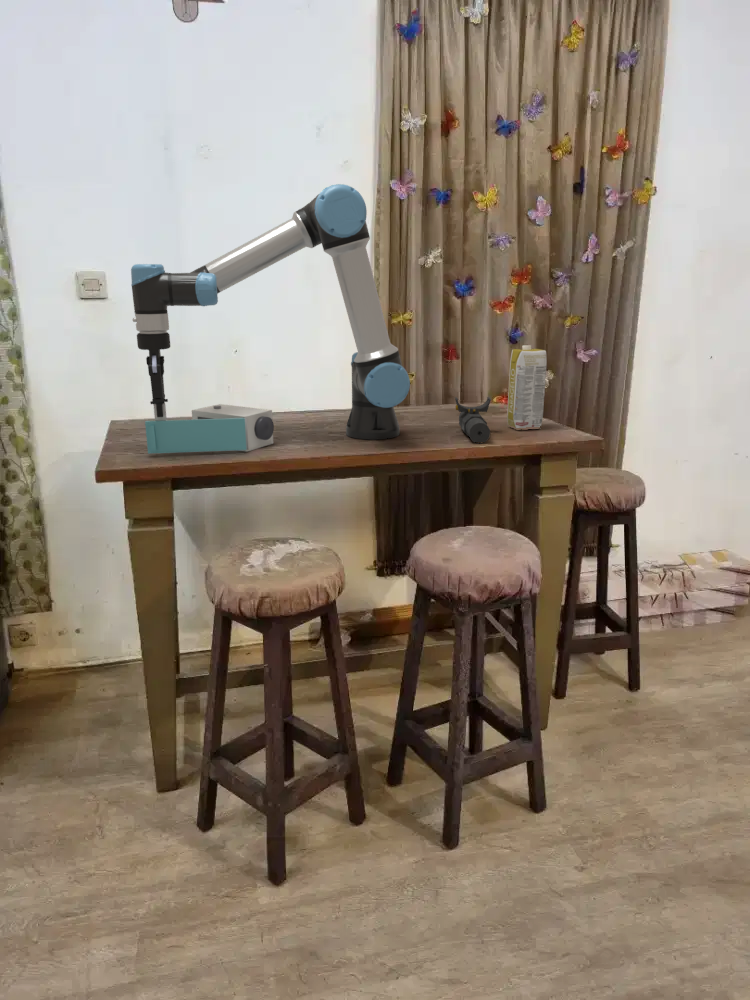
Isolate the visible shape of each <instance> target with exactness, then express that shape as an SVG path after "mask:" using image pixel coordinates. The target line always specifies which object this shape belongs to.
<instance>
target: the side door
mask: <svg viewBox="0 0 750 1000" xmlns="http://www.w3.org/2000/svg"><path fill="white" fill-rule="evenodd" d="M144 425H145V436H146V446H147V454H172V453H174V454H175V453H194V452H195V453H197V452H198V453H200V452H201V453H202V452H223V451H224V452H226V451H239V450H248V432H247V418H224V419H192V418H191V419H167V420H159V421H155V420H145V421H144Z"/></svg>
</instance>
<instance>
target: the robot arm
mask: <svg viewBox="0 0 750 1000" xmlns="http://www.w3.org/2000/svg"><path fill="white" fill-rule="evenodd" d="M367 211H368V210H367V206H366V201H365V198H363V196H362V195H361V193H360V192H359V191H358V190H356V188H354V187H353V186H350V185H348V184H344V183H343V184H341V183H337V184H332V185H331V184H330V185H329V186H327V187H324V188H323V190H322V191H320V192H319V193H318V194H317V195H316V196H314V198H313V199H311V201H309V202H308V203H307V204H306V205H304V206H303V207H300V208H299V209H298V210H296V211H294V212H293V213H292V216H291V218H290V219H288V220H286V221H285V222H282V223H280V224H278V225H277V226H274V227H273V228H271V229H269V230H268V231H266V232H264V233H261V234H259V235H258V236H257V237H254V238H252V239H250V240H249V241H247V242H245V243H243V244H241V245H239V246H238V247H236V248H234V249H232V250H230V251H227V252H226V253H225V254H223V255H221V256H218V257H216V258H215V259H213V260H211V261H209V262H207V263H206V264H204V265H202V266H200V267H198V268H196V269H194V270H193V271H190V272H172V273H171V272H166V270H165V267H164V265H163V264H162V263H161V264H160V263H159V264H158V263H155V264H154V263H153V264H152V263H149V264H148V263H143V264H142V263H137V264H136V263H135V264H133V265H132V267H131V268H130V275H131V291H132V300H133V309H134V310H133V311H134V317H132V322H133V323H136V324H135V329H136V331H137V332H138V333H137V334H136V341H137V343H136V344H137V349H139V350H143V351H148V355H147V356H146V357H145V360H146V365H147V369H148V371H147V372H148V376H149V379H150V386H151V394H152V397H151V398H152V400H151V401H150V402H149V403H150V405H153V415H154V421H159V420H168V419H167V408H166V406H167V405H166V403H168V402H169V400H168V398H166V394H165V385H164V384H165V383H164V381H165V380H164V374H165V364H164V363H165V356H164V355H161V350H168V349H170V348H171V338H170V333H169V332H168V331H169V330H170V325H169V322H170V321H169V313H168V307H169V306H170V307H177V306H178V307H181V306H182V307H184V306H185V307H208V306H210V307H211V306H216V305H217V304H218V302H219V300H218V299H219V297H218V294H219V293H222V292H223V291H225V290H227V289H229V288H231V287H234V285H237V284H238V283H240V282H242V281H243V280H246V279H247V278H250V277H252V276H254V275H255V274H257V273H260V272H261V271H263V270H264V269H267V268H269V267H271V266H273V265H274V264H277V263H278V262H280V261H281V260H283V259H285V258H287V257H289V256H292V255H293V254H295V253H297V252H299V251H301V250H302V249H305V248H310V249H313V248H315V247H316V246H320V245H321V246H322V249H323V252H324V253H325V254H328V255H329V256H330V257H331V259H332V262H333V265H334V269H335V273H336V277H337V281H338V283H339V287H340V292H341V295H342V299H343V303H344V306H345V309H346V314H347V316H348V320H349V321H348V322H349V325H350V328H351V331H352V335H353V340H354V342H355V347H356V350H357V352H354V353H353V354H352V356H351V362H350V366H351V410H350V413H349V415H348V418H347V422H346V426H345V435H346V436H347V437H349V438H354V439H358V440H386V439H387V438H388V439H392V438H397V437H398V436H399V435H400V424H399V421H398V417H397V415H396V411H395V410H396V409H395V408H394V407H396V406H398V405H399V404H401V403H402V402H403V401H404V400H405V399H406V397H407V395H408V394H409V392H410V387H411V381H410V380H411V379H410V376H409V374H408V371H407V370H406V368H405V367H404V366H403V363H402V359H401V354H400V351H399V348H398V347H397V346H395V345H394V344H392V343H391V340H390V336H389V333H388V332H389V331H388V328H387V324H386V321H385V316H384V313H383V308H382V305H381V304H382V303H381V301H380V300H381V299H380V297H379V294H378V290H377V286H376V282H375V277H374V275H373V269H372V266H371V262H370V258H369V254H368V251H367V250H368V249H367V245H368V243H369V241H370V239H371V236H370V233H369V229H368V225H367V215H368V214H367V213H368V212H367Z"/></svg>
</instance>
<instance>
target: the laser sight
mask: <svg viewBox="0 0 750 1000" xmlns="http://www.w3.org/2000/svg"><path fill="white" fill-rule="evenodd" d="M486 398H487V399H486V400H485V402H484V403H483V404H481V405H478V406H465V405H462V404H460V403H459V401H458V400H459V398H458V397H457V396H456V397H454V400H455V411H458V412H459V416H458V425H459V427H460V428H461V429H462V431H463V433H464V434H465V435H466V436H469V437H470V440H471V441H472V442H473V443H475V442H484V443H486V441H488V440H489V439H490V437H491V429H490V427H489V426H488V422H487V421H486V420H485V418H483V417H482V415H481V414H480V413H487V412H488V410H489V407H490V403H491V400H492V398H490V397H489V396H488V397H487V396H486Z"/></svg>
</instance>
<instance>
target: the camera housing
mask: <svg viewBox="0 0 750 1000" xmlns="http://www.w3.org/2000/svg"><path fill="white" fill-rule="evenodd" d="M224 418H247V432H248V450H238V451H240V452H245V453H247V452H250V451H253V450H257V449H261V448H263V447H266V446H270V445H273V444H274V429H275V426H274V420H273V410H272V409H265V408H257V407H249V406H248V407H247V406H241V405H240V406H239V405H233V404H232V405H230V404H222V403H218V404H215V405H209V406H204V407H201V408H196V409H192V410H191V419H224Z"/></svg>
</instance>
